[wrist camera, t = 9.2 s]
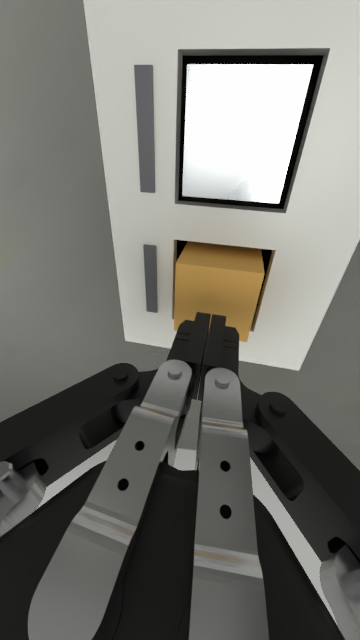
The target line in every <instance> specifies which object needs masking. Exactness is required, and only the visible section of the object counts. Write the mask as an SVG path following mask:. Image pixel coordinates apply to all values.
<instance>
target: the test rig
mask: <svg viewBox="0 0 360 640" xmlns="http://www.w3.org/2000/svg"><path fill="white" fill-rule="evenodd" d="M84 9H85V17H86V25H87V33H88V41H89V49H90V57H91V66H92V74H93V82H94V90H95V98H96V106H97V114H98V123H99V131H100V139H101V147H102V155H103V163H104V171H105V180H106V188H107V196H108V204H109V212H110V220H111V228H112V237H113V245H114V253H115V261H116V269H117V277H118V285H119V294H120V302H121V310H122V318H123V326H124V334H125V341H130V342H136V343H141V344H147V345H153V346H159V347H165V348H170V349H171V347H172V344H173V341H174V339H175V336H176V333H177V331H174V308H175V273H176V261H177V240H184V241H193V242H202V243H212V244H221V245H230V246H240V247H249V248H259V249H268V250H273V251H272V254H271V258H270V262H269V266H268V270H267V273H266V277H265V281H264V285H263V289H262V292H261V296H260V300H259V304H258V308H257V311H255V313H254V317H253V321H252V325H251V329H250V332H249V336H248V340H247V342H242V341H239V360H240V361H246V362H252V363H258V364H263V365H269V366H275V367H281V368H287V369H292V370H298V371H299V369H300V367H301V365H302V363H303V361H304V358H305V356H306V354H307V352H308V350H309V348H310V345H311V343H312V341H313V339H314V337H315V335H316V333H317V330H318V328H319V326H320V324H321V322H322V320H323V317H324V315H325V313H326V311H327V309H328V307H329V304H330V302H331V300H332V298H333V296H334V294H335V291H336V289H337V287H338V285H339V283H340V281H341V279H342V276H343V274H344V272H345V270H346V268H347V266H348V263H349V261H350V259H351V257H352V255H353V253H354V250H355V248H356V246H357V244H358V242H359V240H360V0H84ZM204 55H324V57H323V61H322V64H321V68H320V72H319V76H318V80H317V83H316V87H315V91H314V95H313V99H312V102H311V106H310V110H309V114H308V118H307V121H306V125H305V129H304V133H303V137H302V140H301V144H300V148H299V152H298V156H297V159H296V163H295V167H294V171H293V175H292V178H291V182H290V186H289V190H288V194H287V197H286V201H285V205H284V209H275V208H263V207H251V206H239V205H227V204H215V203H203V202H191V201H179V200H178V194H179V160H180V127H181V93H182V60H183V56H204Z"/></svg>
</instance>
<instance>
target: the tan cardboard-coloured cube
mask: <svg viewBox="0 0 360 640" xmlns="http://www.w3.org/2000/svg"><path fill="white" fill-rule="evenodd" d="M264 275H265V272H264V266H263V259H262V252H261V249H259V248H249V247H240V246H230V245H221V244H212V243H202V242H193V241H188V242H187V244H186V246H185V247H184V249H183V251H182V253H181V255H180V256H179V258H178V260H177V262H176V273H175V308H174V331H177V330H178V327H179V325H180V324H181V323H182V322H183V321H184V320H191V321H194V320H195V317H196V313H197V312H203V313H209V314H211V317H212V314H216V315H223V316H226V324H225V326H229V327H235V328H236V329H237V331H238V333H239V341H242V342H247V340H248V336H249V332H250V329H251V325H252V321H253V317H254V313H255V309H256V305H257V302H258V298H259V294H260V290H261V286H262V282H263V278H264ZM210 323H211V318H210ZM209 328H210V326H209Z"/></svg>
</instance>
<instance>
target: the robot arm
mask: <svg viewBox="0 0 360 640" xmlns="http://www.w3.org/2000/svg"><path fill="white" fill-rule="evenodd" d="M210 318H211V323H210ZM225 324H226V316H223V315H216V314H212V317H211V314H209V313H203V312H197V313H196V317H195V320H194V321H191V320H184V321H183V322H182V323H181V324H180V325H179V327H178V330H177V333H176V336H175V339H174V341H173V344H172V347H171V350H170V352H169V355H168V358H167V361H166V362H164V363H163V364H161V366H160V367H159V368H158V369H156V370H153V371H145V372H138V370H137V369H136V368H135V367H134V366H133V365H131V364H127V363H119V364H115V365H113V366H111V367H109V368H107V369H105V370H103V371H101V372H99V373H97V374H95V375H93V376H91V377H89V378H87V379H85V380H83V381H81V382H79V383H77V384H75V385H73V386H71V387H69V388H67V389H65V390H64V391H62V392H60V393H58V394H56V395H54V396H52V397H50V398H48V399H46V400H44V401H42V402H40V403H38V404H36V405H34V406H32V407H30V408H28V409H26V410H24V411H22V412H20V413H18V414H16V415H14V416H12V417H10V418H8V419H6V420H4V421H2V422H0V640H360V471H359V470H358V469H357V468H356V467H355V466H354V465H353V464H352V463H351V462H350V460H349V459H348V458H347V457H346V456H345V455H344V454H343V453H342V452H341V451H340V450H339V449H338V448H337V447H336V446H335V445H334V444H333V443H332V442H331V441H330V440H329V439H328V438H327V437H326V436H325V435H324V434H323V433H322V431H321V430H320V429H319V428H318V427H317V426H316V425H315V424H314V423H313V422H312V421H311V420H310V419H309V418H308V417H307V416H306V415H305V414H304V413H303V412H302V411H301V410H300V409H299V408H298V407H297V406H296V405H295V404H294V403H293V401H292V400H290V399H289V398H288V397H287V396H285V395H283V394H281V393H277V392H267V393H264V394H263V395H260V394H258V393H256V392H254V391H252V390H250V389H248V388H247V387H246V386H244V385H243V383H242V382H241V381H240V379H239V376H238V363H239V333H238V331H237V329H236V328H235V327H229V326H225ZM209 326H210V328H209ZM200 378H201V380H200ZM199 383H200V388H199ZM198 389H199V395H198V400H201V401H202V403H201V409H200V416H199V428H198V440H197V452H196V463H195V470H191V471H181V470H177V469H176V468H174V467H173V465H174V460H175V456H176V452H177V449H178V445H179V442H180V439H181V435H182V432H183V429H184V425H185V422H186V419H187V415H188V411H189V409H190V405H191V400H192V399H195V400H196V399H197V394H198ZM117 438H118V439H117ZM116 439H117V441H116V443H115V445H114V448H113V449H112V451H111V453H110V455H109V457H108V459H107V461H104V462H102V463H100V464H98V465H96V466H94V467H93V468H91V469H90V470H88V471H87V472H86V473H84V474H83V475H82V476H80V477H79V478H78V479H76V480H75V481H74V482H72V483H71V484H70V485H68V486H67V487H66V488H64V489H63V490H62V491H60V492H59V493H58V494H56V495H55V496H54V497H52V498H51V499H50V500H48V501H47V502H46V503H45V504H43V505H42V506H41V507H39V508H38V509H37V507H38V505H39V504H40V502H41V501H42V499H43V497H44V494H45V490H46V487H47V486H48V485H50V484H52V483H53V482H54V481H56V480H57V479H59V478H60V477H62V476H63V475H65V474H66V473H68V472H69V471H71V470H72V469H73V468H75V467H76V466H78V465H79V464H81V463H82V462H84V461H85V460H87V459H88V458H90V457H91V456H93V455H94V454H95V453H97V452H98V451H100V450H101V449H103V448H104V447H106V446H107V445H109V444H110V443H112V442H113V441H115V440H116ZM250 457H251V459H252V460H253V461H254V463H255V464H256V466H257V467H258V469H259V470H260V472H261V473H262V475H263V476H264V478H265V479H266V481H267V482H268V483H269V485H270V487H271V488H272V489H273V491H274V492H275V494H276V495H277V497H278V498H279V500H280V501H281V503H282V504H283V506H284V507H285V509H286V510H287V512H288V513H289V514H290V516H291V518H292V519H293V521H294V522H295V523H296V525H297V526H298V528H299V529H300V531H301V532H302V534H303V535H304V537H305V538H306V540H307V541H308V543H309V544H310V546H311V547H312V548H313V550H314V552H315V553H316V554H317V556H318V557H319V559H320V560H321V562H322V564H321V567H320V581H321V586H322V590H323V593H324V595H325V597H326V599H327V601H328V603H329V605H330V607H331V609H332V611H333V614H334V616H335V619H336V622H337V625H336V623H335V621H334V620H333V618H332V616H331V615H330V613H329V611H328V610H327V608H326V606H325V604H324V603H323V601H322V600H321V598H320V596H319V594H318V593H317V591H316V589H315V588H314V586H313V584H312V583H311V581H310V579H309V578H308V576H307V574H306V573H305V571H304V569H303V567H302V566H301V564H300V562H299V561H298V559H297V558H296V556H295V554H294V552H293V551H292V549H291V547H290V546H289V544H288V542H287V541H286V539H285V537H284V535H283V534H282V532H281V530H280V529H279V527H278V526H277V524H276V522H275V520H274V519H273V517H272V515H271V514H270V513H269V511H268V510H267V509H266V507H265V506H264V505H263V504H262V503H261V502H260V501H259V500H258V499H257V498H256V497H255V496H254V495H253V490H252V478H251V467H250ZM36 509H37V510H36ZM33 511H34V512H33ZM32 512H33V513H32ZM30 513H31V514H30ZM28 515H29V516H28Z"/></svg>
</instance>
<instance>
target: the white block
mask: <svg viewBox="0 0 360 640" xmlns="http://www.w3.org/2000/svg"><path fill="white" fill-rule="evenodd" d="M313 65H314V64H187V81H186V108H185V134H184V161H183V187H182V196H189V197H201V198H214V199H226V200H239V201H251V202H264V203H276V204H279V201H280V197H281V193H282V189H283V185H284V181H285V177H286V173H287V169H288V165H289V161H290V157H291V153H292V149H293V145H294V141H295V137H296V133H297V129H298V125H299V121H300V117H301V113H302V109H303V105H304V101H305V97H306V93H307V89H308V85H309V81H310V77H311V73H312V69H313Z"/></svg>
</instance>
